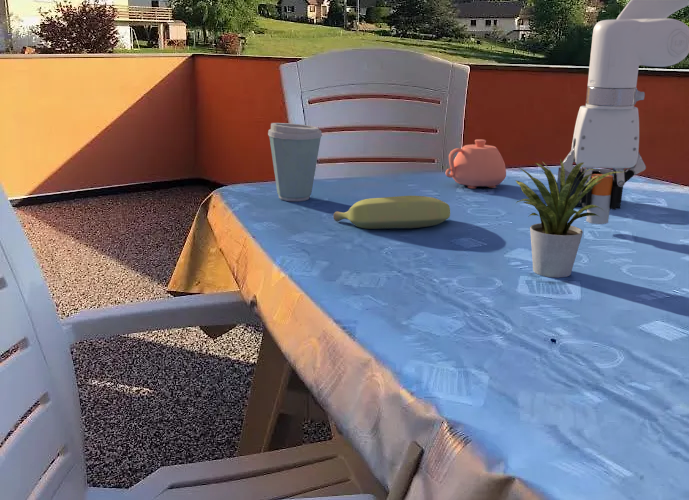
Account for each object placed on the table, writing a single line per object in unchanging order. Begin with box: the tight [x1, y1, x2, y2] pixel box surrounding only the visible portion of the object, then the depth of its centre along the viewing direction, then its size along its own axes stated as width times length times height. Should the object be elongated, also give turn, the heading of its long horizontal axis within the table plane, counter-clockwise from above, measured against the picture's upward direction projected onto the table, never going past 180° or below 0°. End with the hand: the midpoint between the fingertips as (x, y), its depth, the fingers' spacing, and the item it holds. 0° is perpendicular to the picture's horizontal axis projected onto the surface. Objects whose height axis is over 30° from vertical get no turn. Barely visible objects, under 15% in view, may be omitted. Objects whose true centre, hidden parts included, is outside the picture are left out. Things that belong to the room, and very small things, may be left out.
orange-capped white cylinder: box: [585, 174, 613, 225], centre depth 121 cm, size 4×4×8 cm
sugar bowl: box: [445, 138, 507, 190], centre depth 158 cm, size 12×14×10 cm
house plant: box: [514, 158, 621, 279], centre depth 98 cm, size 14×14×16 cm
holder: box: [556, 166, 624, 210], centre depth 144 cm, size 11×11×6 cm
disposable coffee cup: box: [267, 122, 323, 203], centre depth 141 cm, size 11×11×15 cm
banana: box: [332, 195, 451, 230], centre depth 124 cm, size 14×6×20 cm
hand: (598, 206), depth 121 cm, fingers closed on orange-capped white cylinder, 3 cm apart
